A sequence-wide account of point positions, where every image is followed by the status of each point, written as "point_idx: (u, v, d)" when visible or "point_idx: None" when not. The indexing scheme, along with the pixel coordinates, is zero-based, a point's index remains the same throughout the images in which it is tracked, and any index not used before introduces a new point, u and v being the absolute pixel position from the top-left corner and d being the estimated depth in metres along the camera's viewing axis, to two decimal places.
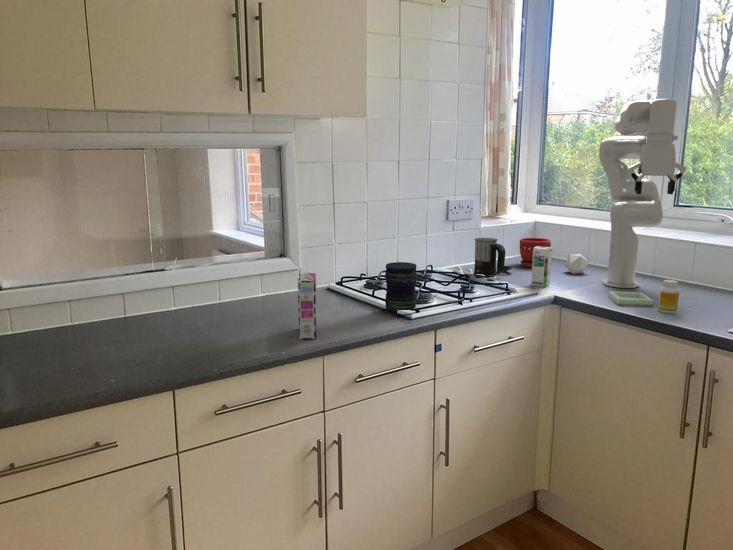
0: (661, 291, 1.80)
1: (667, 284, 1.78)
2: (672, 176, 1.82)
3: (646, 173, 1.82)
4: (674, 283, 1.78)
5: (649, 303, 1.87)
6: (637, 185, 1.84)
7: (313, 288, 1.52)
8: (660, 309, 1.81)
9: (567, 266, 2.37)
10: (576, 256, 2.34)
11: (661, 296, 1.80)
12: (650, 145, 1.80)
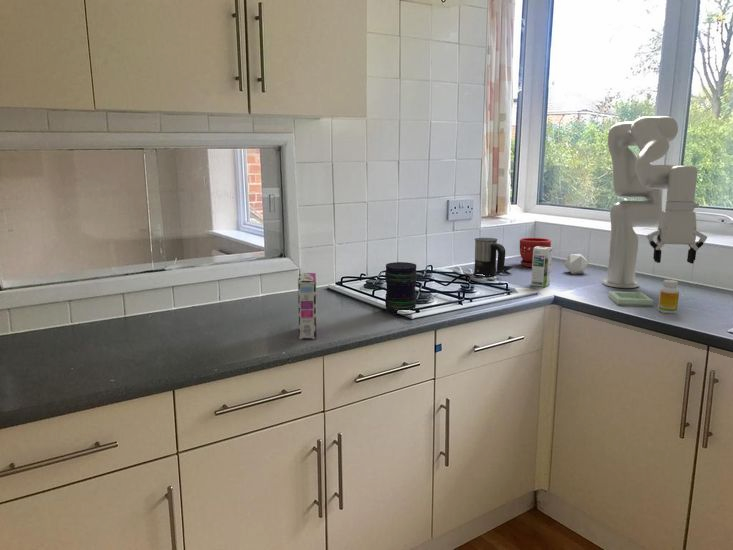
0: (661, 291, 1.80)
1: (667, 284, 1.78)
2: (693, 245, 1.75)
3: (666, 242, 1.75)
4: (674, 283, 1.78)
5: (649, 303, 1.87)
6: (656, 253, 1.77)
7: (313, 288, 1.52)
8: (660, 309, 1.81)
9: (567, 266, 2.37)
10: (576, 256, 2.34)
11: (661, 296, 1.80)
12: (670, 213, 1.73)
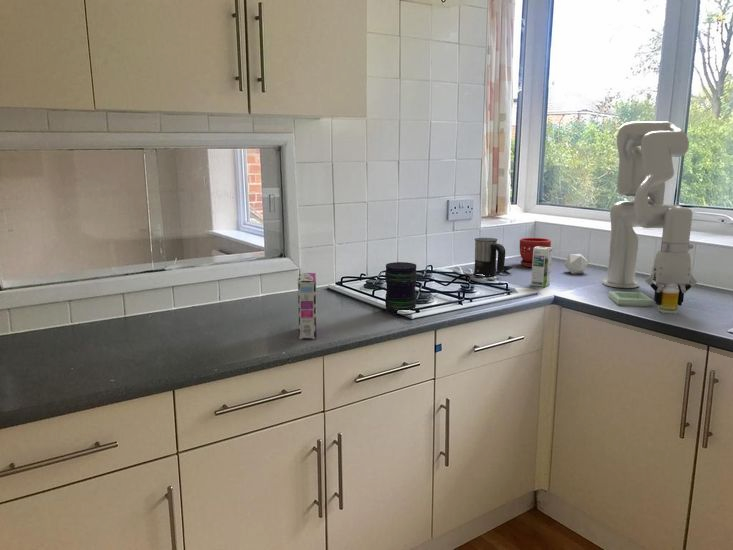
0: (661, 291, 1.80)
1: (667, 284, 1.78)
2: (682, 287, 1.78)
3: (660, 282, 1.78)
4: None
5: (649, 303, 1.87)
6: (657, 296, 1.80)
7: (313, 288, 1.52)
8: (660, 309, 1.81)
9: (567, 266, 2.37)
10: (576, 256, 2.34)
11: None
12: (665, 254, 1.76)
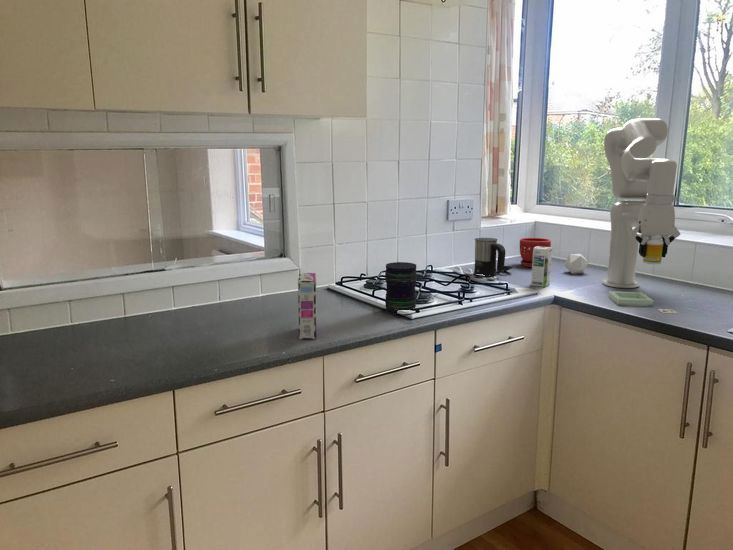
0: (646, 243, 1.83)
1: (652, 236, 1.82)
2: (666, 239, 1.81)
3: (645, 234, 1.81)
4: (658, 235, 1.81)
5: (649, 303, 1.87)
6: (641, 248, 1.84)
7: (313, 288, 1.52)
8: (645, 261, 1.84)
9: (567, 266, 2.37)
10: (576, 256, 2.34)
11: (646, 248, 1.83)
12: (650, 206, 1.79)
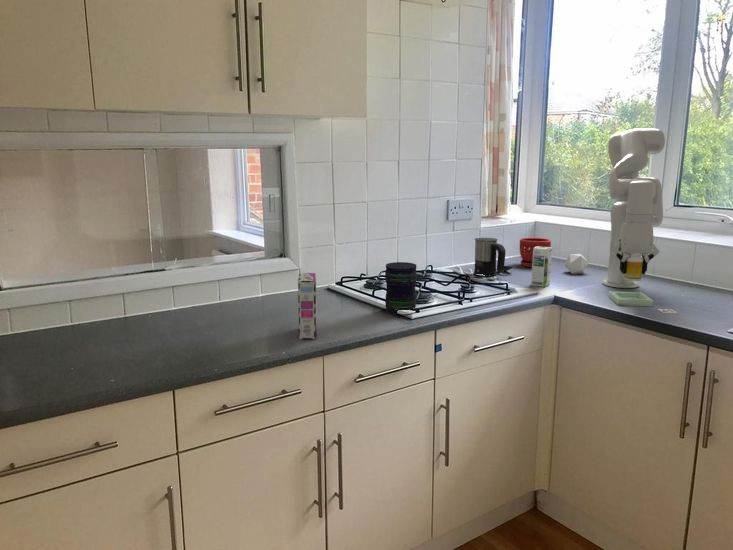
0: (626, 260, 1.90)
1: None
2: (646, 256, 1.88)
3: (625, 251, 1.88)
4: None
5: (649, 303, 1.87)
6: (622, 265, 1.90)
7: (313, 288, 1.52)
8: (625, 278, 1.90)
9: (567, 266, 2.37)
10: (576, 256, 2.34)
11: None
12: (629, 225, 1.86)
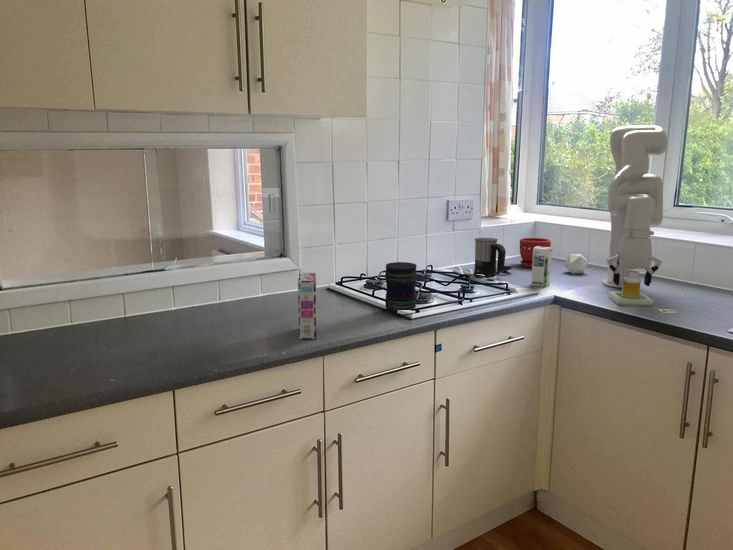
0: (624, 281, 1.92)
1: (629, 274, 1.90)
2: (648, 269, 1.89)
3: (623, 266, 1.89)
4: (635, 273, 1.89)
5: (649, 303, 1.87)
6: (615, 276, 1.91)
7: (313, 288, 1.52)
8: None
9: (567, 266, 2.37)
10: (576, 256, 2.34)
11: (624, 286, 1.92)
12: (627, 240, 1.87)
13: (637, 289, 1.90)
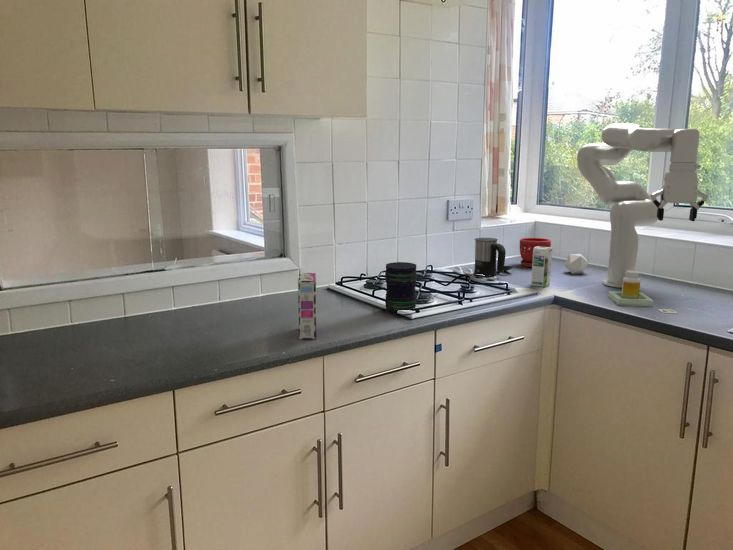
0: (624, 281, 1.92)
1: (629, 274, 1.90)
2: (694, 204, 1.86)
3: (668, 200, 1.87)
4: (635, 273, 1.89)
5: (649, 303, 1.87)
6: (659, 212, 1.89)
7: (313, 288, 1.52)
8: None
9: (567, 266, 2.37)
10: (576, 256, 2.34)
11: (624, 286, 1.92)
12: (672, 173, 1.85)
13: (637, 289, 1.90)
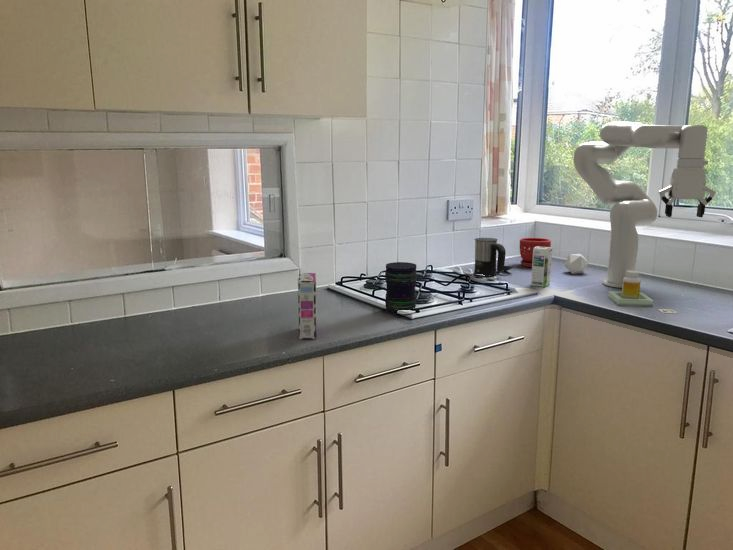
0: (624, 281, 1.92)
1: (629, 274, 1.90)
2: (702, 200, 1.87)
3: (677, 197, 1.87)
4: (635, 273, 1.89)
5: (649, 303, 1.87)
6: (667, 208, 1.89)
7: (313, 288, 1.52)
8: None
9: (567, 266, 2.37)
10: (576, 256, 2.34)
11: (624, 285, 1.92)
12: (681, 170, 1.85)
13: (637, 289, 1.90)
